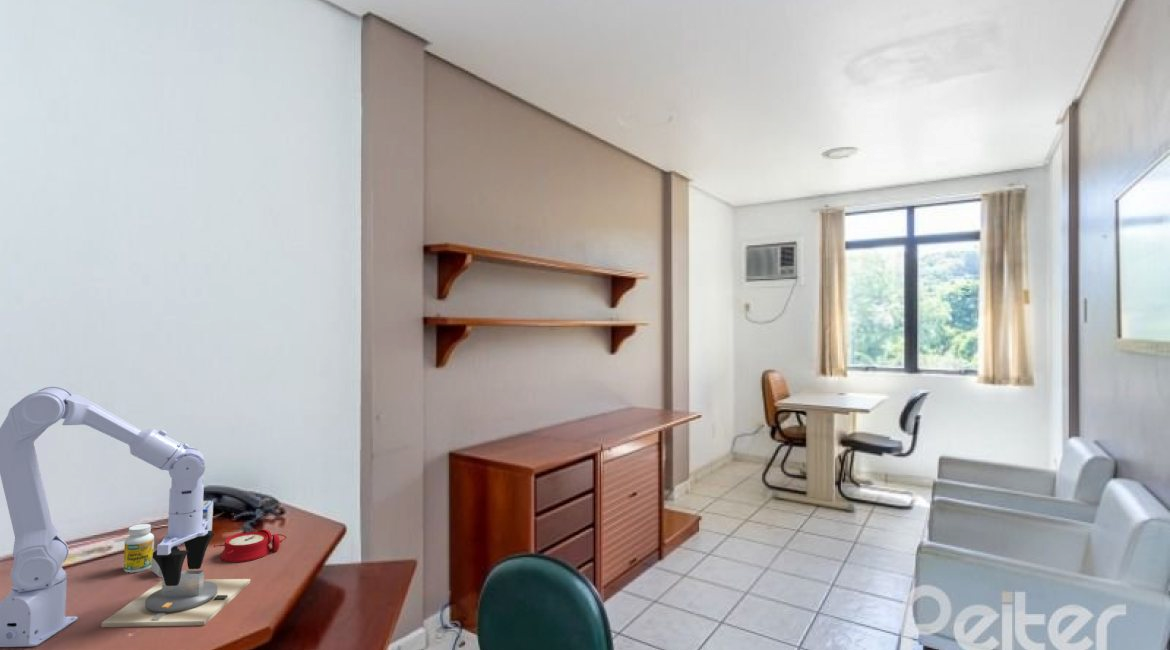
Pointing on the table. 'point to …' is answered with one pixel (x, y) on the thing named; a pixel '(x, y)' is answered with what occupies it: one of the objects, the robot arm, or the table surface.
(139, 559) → the supplement bottle
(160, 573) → the usb wall charger
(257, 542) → the alarm clock
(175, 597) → the twist dial
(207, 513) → the medicine box
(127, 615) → the plate
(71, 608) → the table surface
